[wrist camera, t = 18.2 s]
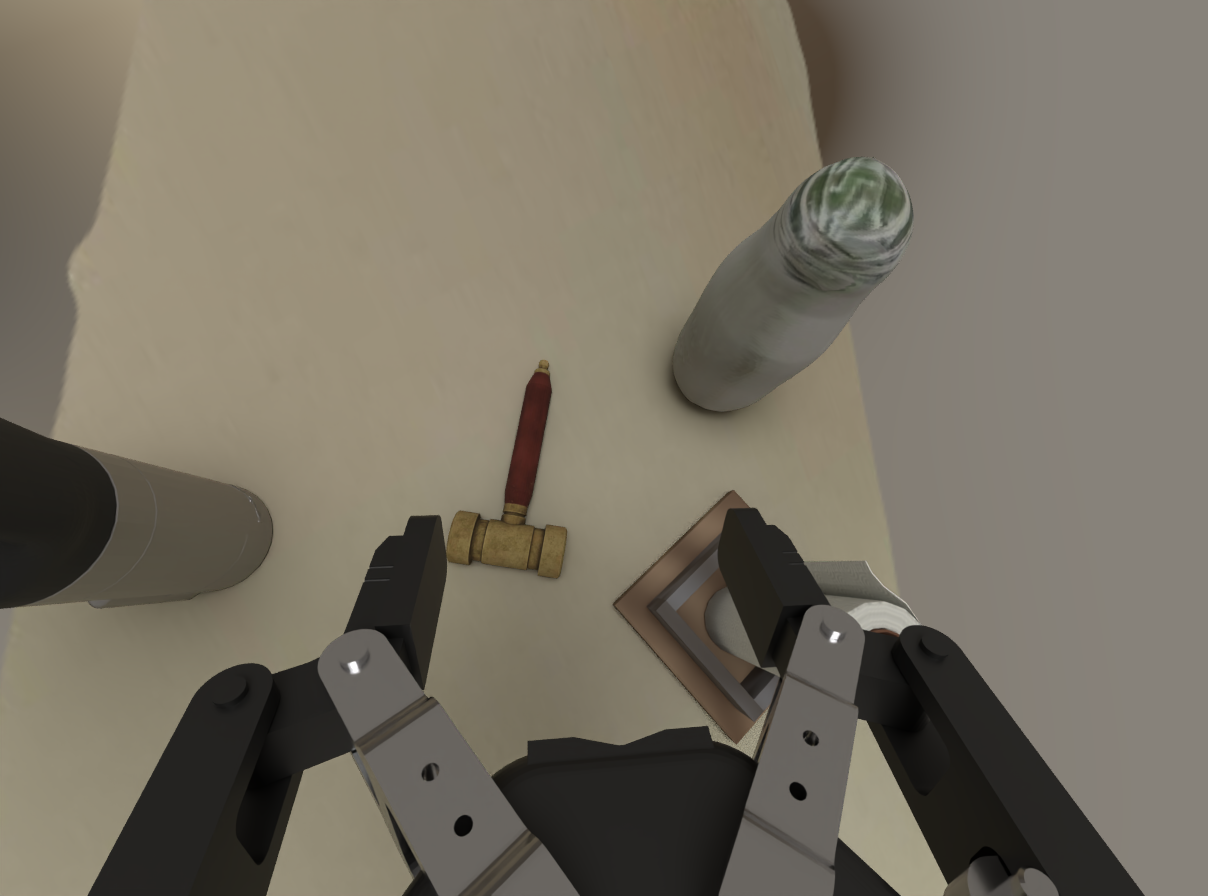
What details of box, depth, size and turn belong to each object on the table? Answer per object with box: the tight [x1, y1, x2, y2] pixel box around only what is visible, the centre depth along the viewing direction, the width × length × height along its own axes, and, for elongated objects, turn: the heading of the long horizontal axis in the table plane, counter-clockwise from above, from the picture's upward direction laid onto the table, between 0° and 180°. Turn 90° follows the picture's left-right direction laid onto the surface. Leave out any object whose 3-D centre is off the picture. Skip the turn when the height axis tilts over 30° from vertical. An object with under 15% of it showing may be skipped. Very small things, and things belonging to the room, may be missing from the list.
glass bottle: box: [673, 157, 913, 412], centre depth 40 cm, size 10×10×28 cm
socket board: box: [613, 490, 779, 744], centre depth 46 cm, size 16×16×6 cm
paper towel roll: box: [705, 561, 921, 677], centre depth 37 cm, size 7×6×21 cm
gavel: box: [446, 360, 567, 578], centre depth 48 cm, size 21×5×10 cm
